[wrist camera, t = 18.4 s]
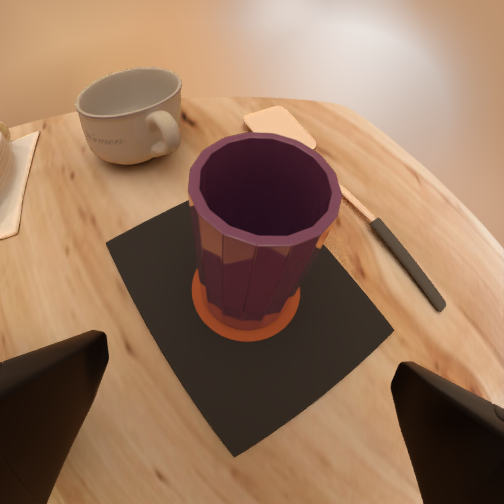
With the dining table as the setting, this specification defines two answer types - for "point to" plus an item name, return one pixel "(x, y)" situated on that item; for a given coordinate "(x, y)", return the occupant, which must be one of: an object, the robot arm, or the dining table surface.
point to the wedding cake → (13, 177)
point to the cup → (258, 223)
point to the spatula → (288, 126)
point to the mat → (245, 332)
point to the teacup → (132, 114)
